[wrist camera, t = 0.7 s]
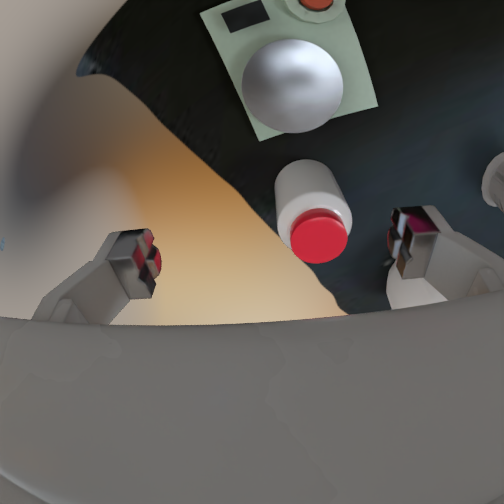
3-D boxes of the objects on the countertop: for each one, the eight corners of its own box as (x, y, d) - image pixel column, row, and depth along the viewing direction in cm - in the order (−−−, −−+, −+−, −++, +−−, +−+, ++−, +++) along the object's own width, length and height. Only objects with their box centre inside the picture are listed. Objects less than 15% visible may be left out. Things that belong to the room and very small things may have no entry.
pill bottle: (261, 192, 37) (261, 248, 28) (301, 146, 33) (317, 189, 24) (308, 224, 39) (320, 282, 31) (348, 183, 35) (374, 235, 27)
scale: (200, 11, 23) (194, 8, 20) (326, -27, 19) (332, -33, 17) (259, 138, 32) (259, 146, 30) (373, 103, 29) (383, 109, 26)
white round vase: (397, 302, 49) (418, 365, 39) (365, 263, 44) (389, 334, 33) (456, 265, 43) (488, 324, 33) (435, 216, 38) (479, 280, 27)
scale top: (206, 19, 21) (205, 19, 21) (305, -13, 19) (306, -14, 18) (263, 144, 30) (263, 145, 29) (353, 116, 27) (354, 117, 27)
